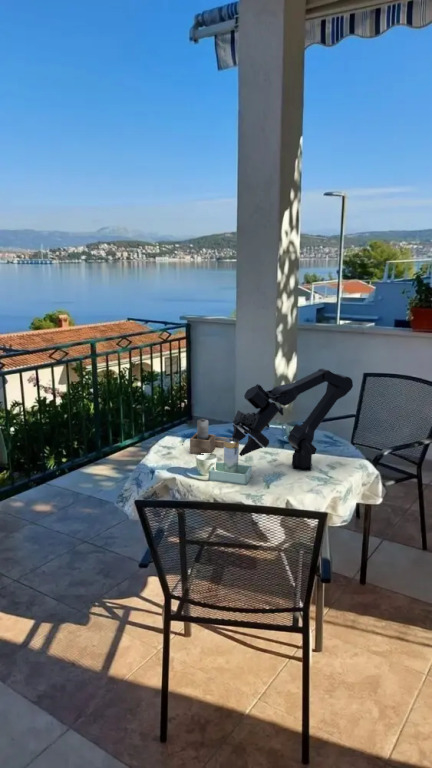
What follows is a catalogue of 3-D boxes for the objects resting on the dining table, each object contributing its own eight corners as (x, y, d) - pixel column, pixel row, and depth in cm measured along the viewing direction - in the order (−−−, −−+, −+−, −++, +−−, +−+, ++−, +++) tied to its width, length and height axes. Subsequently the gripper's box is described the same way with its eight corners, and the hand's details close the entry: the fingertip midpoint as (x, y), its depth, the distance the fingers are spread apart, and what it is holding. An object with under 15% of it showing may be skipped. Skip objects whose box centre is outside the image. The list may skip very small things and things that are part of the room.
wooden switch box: (227, 443, 208) (227, 435, 207) (223, 448, 202) (223, 440, 201) (208, 441, 210) (208, 433, 209) (204, 446, 204) (204, 438, 203)
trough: (251, 475, 175) (251, 466, 175) (246, 485, 167) (246, 475, 166) (215, 470, 179) (215, 461, 178) (208, 480, 171) (208, 470, 170)
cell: (235, 472, 176) (236, 435, 173) (240, 478, 171) (241, 440, 168) (221, 474, 174) (222, 436, 171) (226, 480, 170) (227, 441, 167)
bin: (214, 449, 201) (215, 417, 198) (209, 455, 193) (209, 423, 190) (196, 446, 203) (196, 415, 200) (189, 453, 195) (189, 421, 192)
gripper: (237, 396, 178) (209, 429, 176) (261, 409, 161) (230, 446, 159) (256, 414, 183) (229, 447, 181) (282, 429, 166) (252, 465, 164)
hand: (234, 450), depth 171 cm, fingers open, 9 cm apart
